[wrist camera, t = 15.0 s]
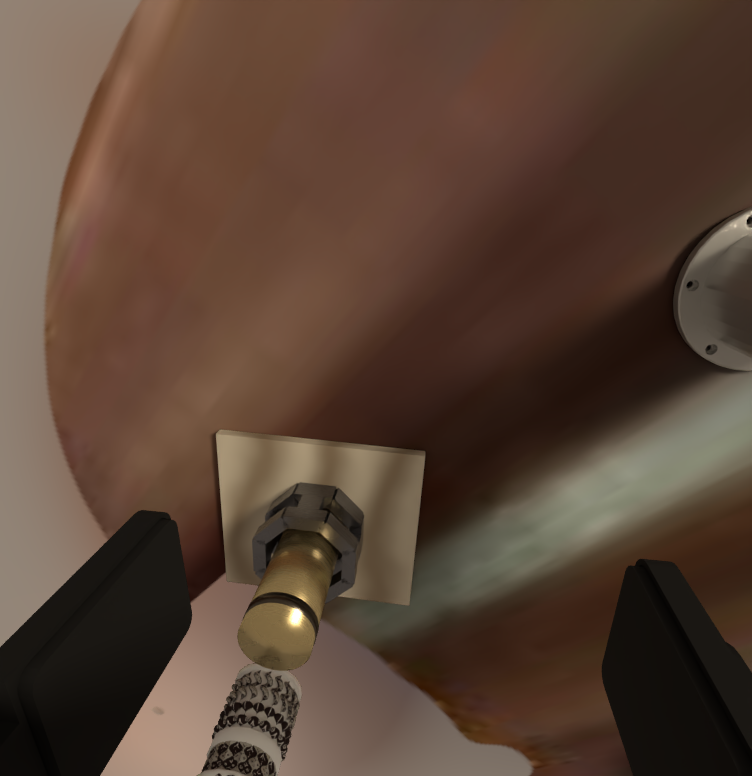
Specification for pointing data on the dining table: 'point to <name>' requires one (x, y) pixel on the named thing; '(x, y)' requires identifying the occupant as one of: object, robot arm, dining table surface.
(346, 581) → the ring
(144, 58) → the dining table surface
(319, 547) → the gold cylinder
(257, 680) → the decorative candle
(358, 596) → the board
